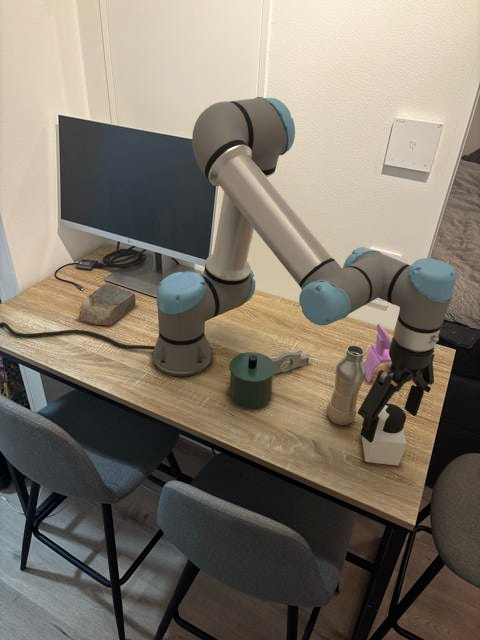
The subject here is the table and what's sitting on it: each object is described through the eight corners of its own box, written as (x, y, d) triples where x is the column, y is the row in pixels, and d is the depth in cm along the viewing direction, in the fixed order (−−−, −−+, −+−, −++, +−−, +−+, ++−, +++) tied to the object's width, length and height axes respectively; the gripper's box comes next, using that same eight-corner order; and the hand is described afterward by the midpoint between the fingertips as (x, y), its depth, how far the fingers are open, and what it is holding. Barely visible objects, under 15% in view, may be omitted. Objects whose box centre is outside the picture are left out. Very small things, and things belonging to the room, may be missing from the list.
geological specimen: (136, 290, 147) (107, 312, 135) (137, 307, 150) (108, 330, 138) (107, 281, 150) (75, 302, 138) (107, 298, 153) (77, 320, 141)
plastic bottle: (338, 404, 117) (353, 337, 106) (359, 421, 113) (378, 353, 101) (319, 415, 114) (333, 347, 103) (340, 433, 109) (357, 364, 98)
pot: (230, 409, 114) (231, 381, 109) (228, 381, 122) (230, 354, 117) (272, 409, 115) (275, 381, 110) (268, 381, 123) (271, 354, 118)
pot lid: (229, 384, 109) (230, 372, 107) (228, 355, 118) (228, 343, 116) (277, 385, 110) (279, 372, 108) (272, 355, 119) (273, 343, 117)
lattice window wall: (306, 361, 130) (309, 343, 127) (309, 365, 129) (312, 347, 126) (267, 372, 126) (269, 354, 122) (270, 376, 124) (272, 358, 121)
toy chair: (402, 383, 125) (417, 336, 116) (370, 385, 123) (382, 337, 115) (390, 363, 132) (403, 317, 123) (359, 364, 130) (370, 318, 122)
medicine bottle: (393, 440, 108) (406, 401, 101) (399, 466, 102) (413, 426, 96) (361, 437, 109) (372, 397, 102) (364, 462, 103) (376, 422, 96)
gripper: (383, 376, 80) (360, 462, 92) (471, 331, 93) (441, 412, 104) (350, 352, 85) (333, 437, 97) (438, 313, 98) (412, 392, 109)
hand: (389, 424), depth 101 cm, fingers open, 13 cm apart
